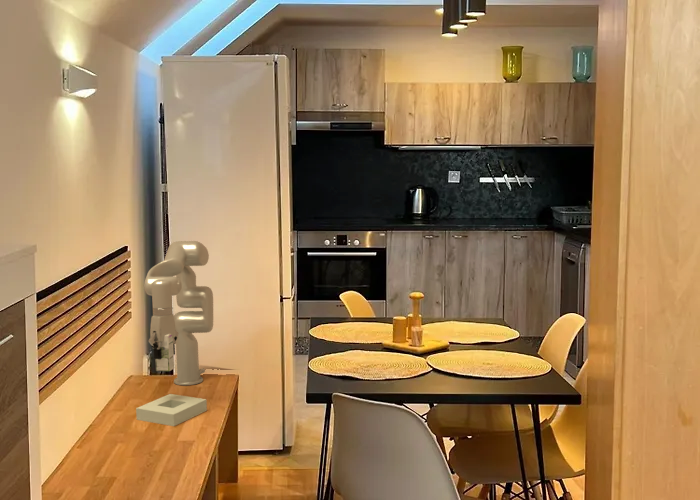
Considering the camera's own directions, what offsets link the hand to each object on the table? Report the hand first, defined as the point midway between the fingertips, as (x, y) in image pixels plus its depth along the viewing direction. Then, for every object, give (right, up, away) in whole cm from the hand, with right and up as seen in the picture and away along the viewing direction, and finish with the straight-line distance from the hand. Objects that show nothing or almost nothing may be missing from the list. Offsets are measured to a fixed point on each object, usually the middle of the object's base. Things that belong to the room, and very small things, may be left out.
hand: (164, 356), depth 317 cm
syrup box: (0, -5, +1) cm, 6 cm away
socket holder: (+3, -23, -1) cm, 23 cm away
